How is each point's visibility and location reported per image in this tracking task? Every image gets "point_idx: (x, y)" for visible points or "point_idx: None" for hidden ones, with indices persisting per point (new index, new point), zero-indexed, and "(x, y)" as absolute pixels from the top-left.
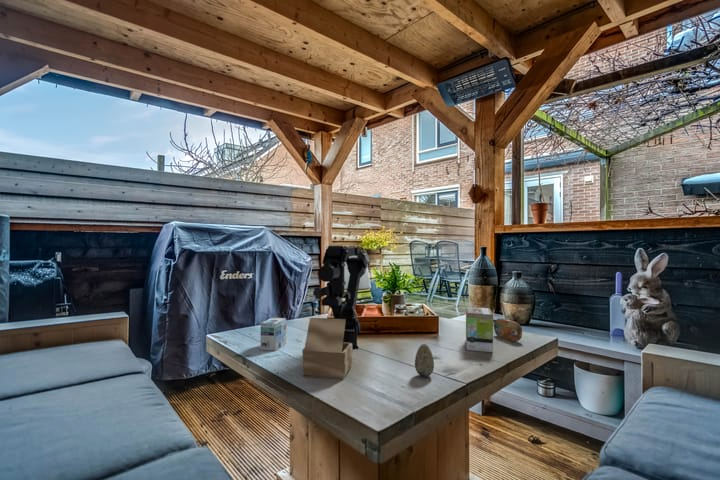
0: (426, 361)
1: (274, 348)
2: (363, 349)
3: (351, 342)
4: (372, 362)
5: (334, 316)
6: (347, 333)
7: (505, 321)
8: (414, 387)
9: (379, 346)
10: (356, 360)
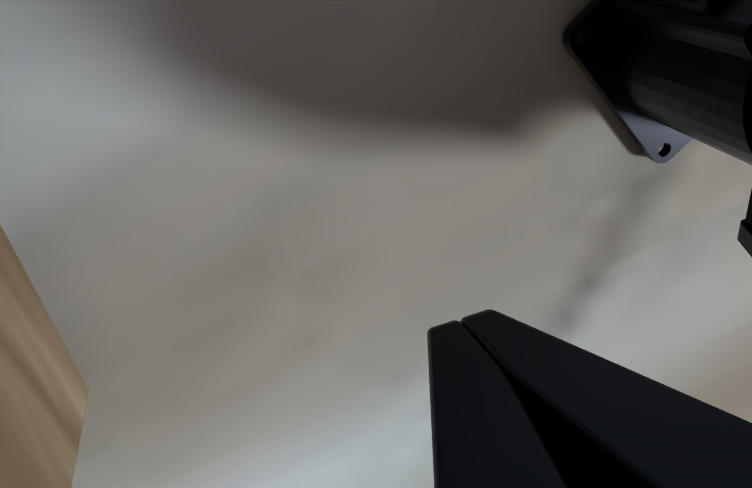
0: None
1: None
2: (632, 215)
3: (667, 122)
4: (303, 452)
5: (434, 462)
6: (745, 111)
7: None
8: None
9: (740, 295)
10: (290, 324)
